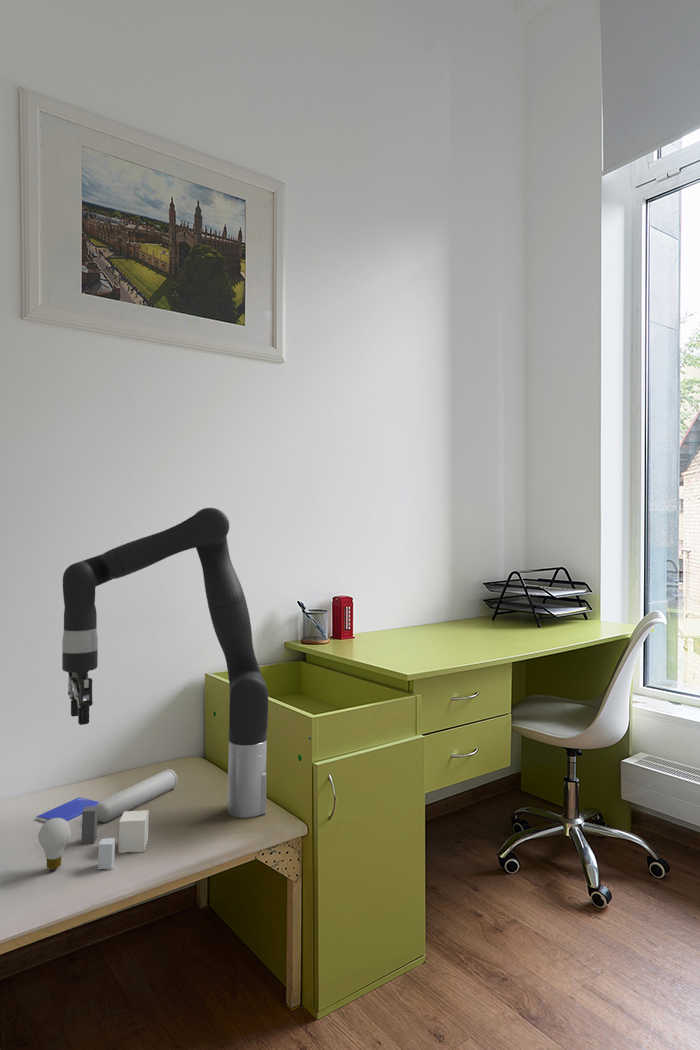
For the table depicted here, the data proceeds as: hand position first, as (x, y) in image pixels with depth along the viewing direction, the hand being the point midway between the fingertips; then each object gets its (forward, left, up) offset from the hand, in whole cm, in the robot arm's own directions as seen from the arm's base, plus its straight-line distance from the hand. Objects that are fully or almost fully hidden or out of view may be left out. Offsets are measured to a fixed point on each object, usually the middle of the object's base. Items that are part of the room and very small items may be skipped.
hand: (79, 719), depth 149 cm
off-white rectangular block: (-14, +11, -25) cm, 30 cm away
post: (-4, +7, -25) cm, 26 cm away
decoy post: (-10, +19, -25) cm, 33 cm away
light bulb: (0, +19, -25) cm, 31 cm away
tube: (-11, -12, -25) cm, 30 cm away
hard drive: (+4, -9, -25) cm, 27 cm away
